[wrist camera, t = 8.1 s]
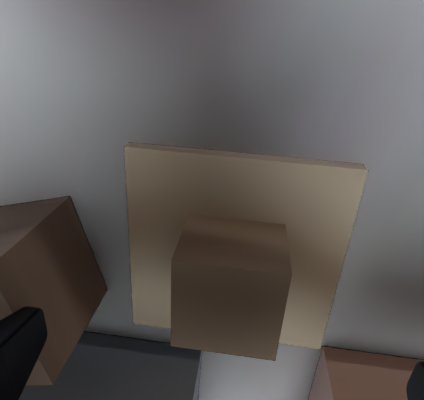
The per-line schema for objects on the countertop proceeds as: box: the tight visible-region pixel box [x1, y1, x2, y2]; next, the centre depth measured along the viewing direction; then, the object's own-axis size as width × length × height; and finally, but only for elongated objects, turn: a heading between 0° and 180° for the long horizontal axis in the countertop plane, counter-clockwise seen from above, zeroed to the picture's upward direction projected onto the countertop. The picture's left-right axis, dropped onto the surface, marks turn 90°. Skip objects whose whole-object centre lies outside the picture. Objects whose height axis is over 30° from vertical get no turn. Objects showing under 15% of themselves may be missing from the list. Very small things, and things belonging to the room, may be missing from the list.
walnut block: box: [0, 196, 107, 386], centre depth 11 cm, size 4×4×4 cm
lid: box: [124, 142, 369, 361], centre depth 11 cm, size 7×7×4 cm
